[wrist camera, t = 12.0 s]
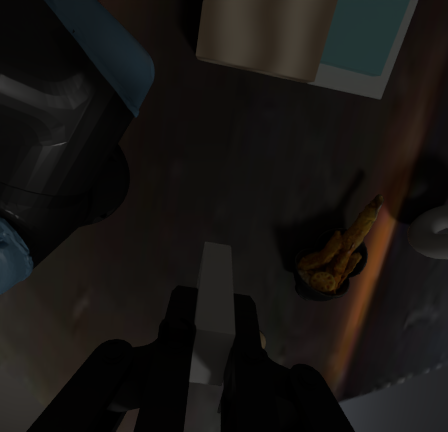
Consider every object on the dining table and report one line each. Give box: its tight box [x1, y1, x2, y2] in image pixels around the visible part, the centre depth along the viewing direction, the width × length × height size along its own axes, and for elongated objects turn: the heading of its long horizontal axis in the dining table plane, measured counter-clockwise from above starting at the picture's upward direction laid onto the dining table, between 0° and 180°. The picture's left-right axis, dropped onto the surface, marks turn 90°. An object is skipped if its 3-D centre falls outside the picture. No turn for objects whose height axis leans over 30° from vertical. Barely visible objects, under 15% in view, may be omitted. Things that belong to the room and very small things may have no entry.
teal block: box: [320, 0, 410, 77], centre depth 33 cm, size 8×8×2 cm
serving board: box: [196, 0, 338, 83], centre depth 32 cm, size 14×13×4 cm
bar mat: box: [307, 0, 418, 99], centre depth 35 cm, size 10×13×1 cm
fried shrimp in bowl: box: [293, 194, 384, 301], centre depth 42 cm, size 9×11×18 cm
